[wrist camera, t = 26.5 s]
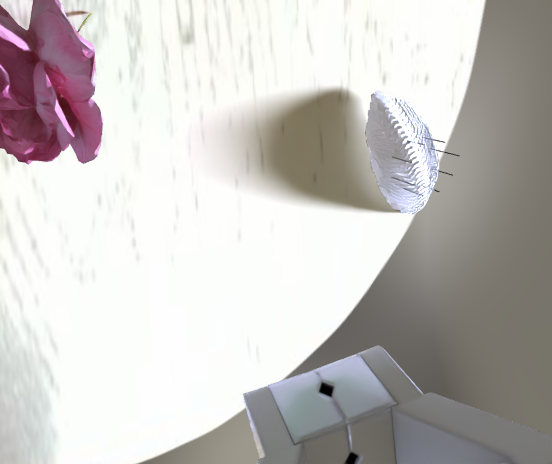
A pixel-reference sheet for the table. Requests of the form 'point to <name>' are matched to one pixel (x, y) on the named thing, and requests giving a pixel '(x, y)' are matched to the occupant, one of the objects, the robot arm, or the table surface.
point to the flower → (47, 87)
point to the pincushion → (401, 153)
